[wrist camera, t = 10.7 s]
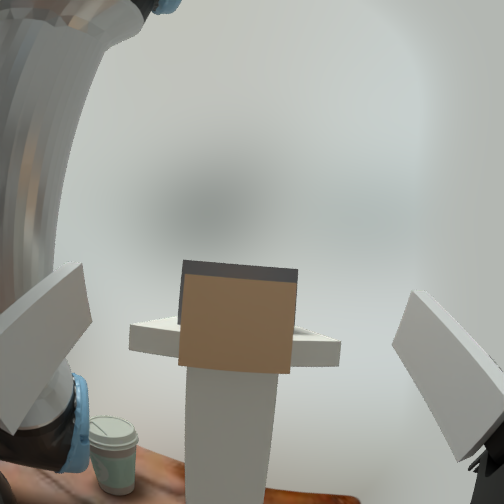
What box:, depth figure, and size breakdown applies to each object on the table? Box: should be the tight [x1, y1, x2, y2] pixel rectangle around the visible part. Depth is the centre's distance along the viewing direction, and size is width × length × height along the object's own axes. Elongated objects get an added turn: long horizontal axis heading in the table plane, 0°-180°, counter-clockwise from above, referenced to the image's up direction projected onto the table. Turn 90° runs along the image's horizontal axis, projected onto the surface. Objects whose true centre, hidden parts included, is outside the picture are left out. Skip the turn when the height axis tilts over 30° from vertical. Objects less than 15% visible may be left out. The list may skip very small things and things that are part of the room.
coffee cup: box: [89, 416, 139, 495], centre depth 30 cm, size 8×8×12 cm
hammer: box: [177, 260, 298, 374], centre depth 17 cm, size 19×8×4 cm, turn 3°
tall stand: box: [129, 316, 341, 504], centre depth 18 cm, size 12×12×30 cm
